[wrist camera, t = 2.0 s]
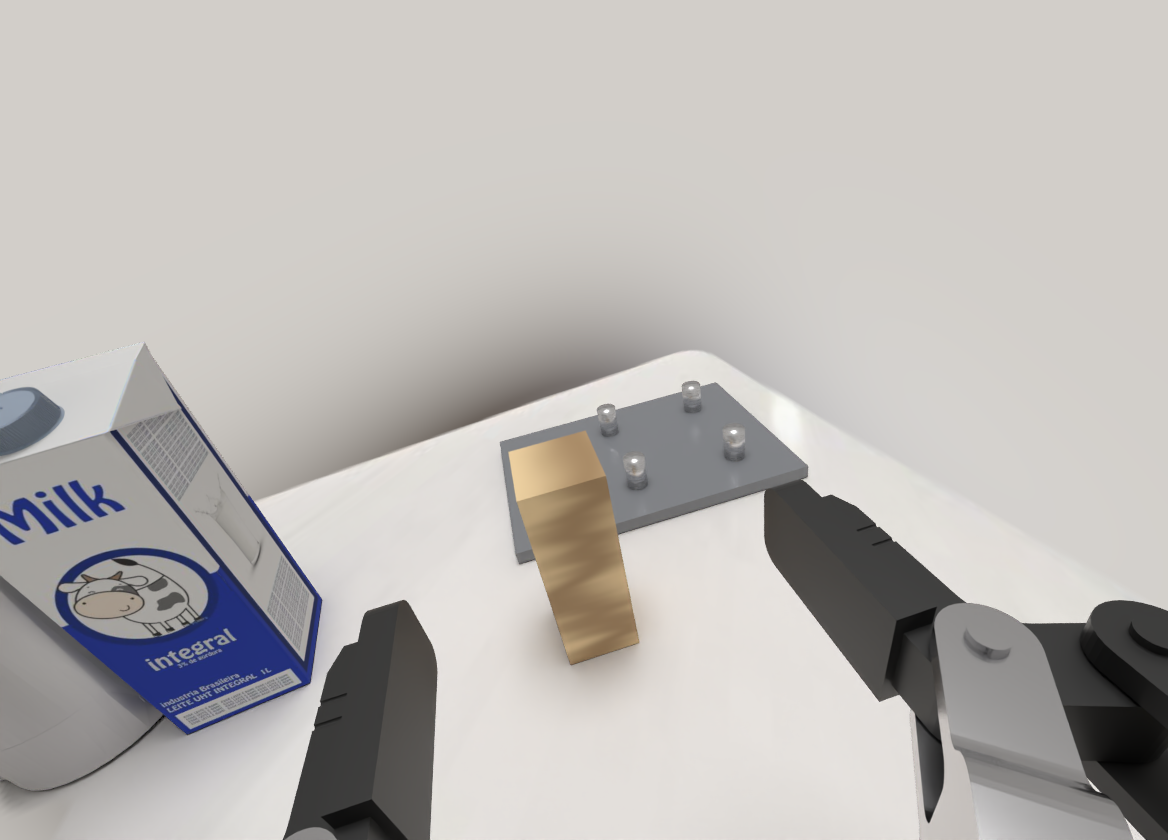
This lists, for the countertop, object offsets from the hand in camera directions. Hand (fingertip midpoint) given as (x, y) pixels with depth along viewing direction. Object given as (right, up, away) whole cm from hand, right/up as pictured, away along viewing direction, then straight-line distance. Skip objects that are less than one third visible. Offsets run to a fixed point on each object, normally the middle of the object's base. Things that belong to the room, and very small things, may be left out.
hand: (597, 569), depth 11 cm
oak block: (+1, -9, +18) cm, 20 cm away
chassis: (+4, 0, +31) cm, 31 cm away
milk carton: (-21, -12, +20) cm, 32 cm away
